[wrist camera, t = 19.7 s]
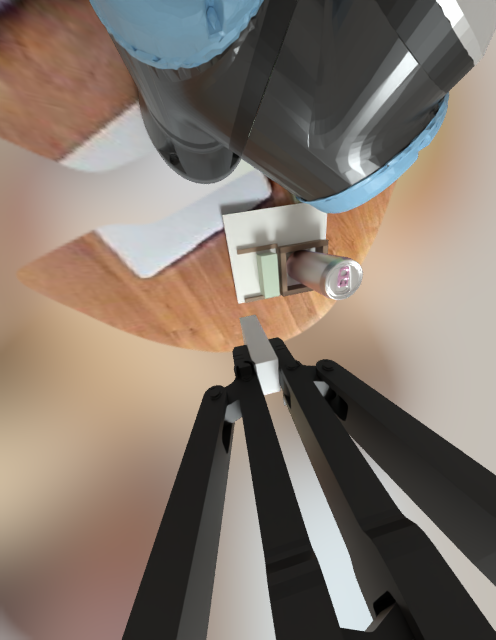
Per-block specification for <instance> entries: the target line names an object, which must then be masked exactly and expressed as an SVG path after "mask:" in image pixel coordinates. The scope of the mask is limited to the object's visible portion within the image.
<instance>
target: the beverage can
mask: <svg viewBox="0 0 496 640" xmlns="http://www.w3.org/2000/svg"><path fill="white" fill-rule="evenodd" d="M286 268H287V274H288V275H289V276H290V277H291V278H293V279H294V280H296V281H298V282H300V283H302V284H303V285H305V286H307V287H309V288H311V289H313V290H314V291H316V292H318V293H320V294H322V295H324V296H325V297H327V298H330V299H335V300H342V299H346V298H348V297H350V296H351V295H352V294H353V293H354V292H355V291H356V290H357V289H358V288H359V286H360V284H361V281H362V276H363V271H362V268H361V266H360V264H359V263H358V262H356V261H354V260H352V259H351V258H348V257H342V256H336V255H330V254H324V253H318V252H312V251H306V250H299V251H295V252H294V253H292V254H291V255H290V256H289V258H288V260H287V263H286Z"/></svg>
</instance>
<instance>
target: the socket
mask: <svg viewBox="0 0 496 640" xmlns="http://www.w3.org/2000/svg"><path fill="white" fill-rule="evenodd" d="M310 248H315V252H318V253H324V254H328V240H325V239H319V240H313V241H307V242H302V243H296V244H290V245H284V246H278V247H276V248H275V249H276V254H277V261H278V276H279V292H280V294H281V295H282V296H288V295H293V294H298V293H303V292H308V291H313V289H311V288H309V287H307V286H305V285H303V284H302V283H301V284H296V285H291V286H287V268H286V253H288V252H293V251H299V250H305V249H310Z"/></svg>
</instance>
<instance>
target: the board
mask: <svg viewBox="0 0 496 640" xmlns="http://www.w3.org/2000/svg"><path fill="white" fill-rule="evenodd" d="M222 218H223V223H224V229H225V234H226V240H227V245H228V251H229V256H230V262H231V267H232V273H233V278H234V284H235V289H236V295H237V301H238V304H239V303H244V302H245V303H248V302H253V301H258V300H263V299H268V298H265V297H264V296H263V295H262V294H261V292H260V283H259V275H258V266H257V258H256V254H262V253H267V252H273V253H276V249H275V248H276V247H278V246H284V245H290V244H296V243H302V242H307V241H313V240H319V239H325V240H326V223H327V213H324V212H322V211H320V210H318V209H316V208H315V207H313V206H311V205H310V204H307V203H299V204H293V205H286V206H280V207H273V208H266V209H260V210H253V211H247V212H240V213H234V214H227V215H222ZM305 250H306V251H312V252H315V248H310V249H305ZM294 252H295V251H293V252H288V253H286V263H287V260H288V258H289V256H290V255H291V254H292V253H294ZM296 284H301V283H300V282H298V281H296V280H294V279H293V278H291V277H290V276H289V275H288V274H287V286H291V285H296ZM280 296H281V294H280ZM275 297H278V296H275ZM270 298H273V297H270Z"/></svg>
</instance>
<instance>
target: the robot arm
mask: <svg viewBox="0 0 496 640" xmlns="http://www.w3.org/2000/svg"><path fill="white" fill-rule="evenodd" d="M89 1H90V3H91V5H92V7H93V9H94V10H95V12H96V14H97V16H98V17H99V19H100V21H101V22H102V24H104V26H105V27H106V29H107V31H108V33H109V35H110V37H111V39H112V41H113V42H114V44H115V46H116V48H117V50H118V52H119V54H120V56H121V57H122V59H123V61H124V63H125V65H126V67H127V69H128V71H129V72H130V74H131V76H132V78H133V80H134V82H135V84H136V86H137V87H138V94H139V104H140V110H141V114H142V118H143V121H144V124H145V127H146V130H147V132H148V135H149V137H150V139H151V141H152V143H153V145H154V146H155V148H156V149H157V151H158V152H159V154H160V155H161V157H162V158H163V160H165V162H166V163H167V164H168V165H169V166H170V168H172V169H173V170H174V171H175V172H176V173H177V174H179V175H181V176H182V177H183V178H185V179H187V180H189V181H192V182H195V183H201V184H210V183H215V182H218V181H221V180H223V179H224V178H226V177H227V176H228V175H230V174H231V173H232V172H233V171H234V169H235V168H236V167H237V165H238V164H239V162H240V160H241V159H243V160H244V161H246V162H247V163H249V164H250V165H252V166H253V167H254V168H256V169H257V170H259V171H260V172H262V173H263V174H265V175H266V176H268V177H269V178H270V179H272V180H273V181H275V182H276V183H278V184H279V185H281V186H282V187H284V188H285V189H286V190H288V191H289V192H291V193H292V194H294V195H295V196H296V198H297V199H298V200H299V201H301V202H303V203H307V204H310V205H311V206H313V207H315V208H316V209H318V210H320V211H322V212H324V213H341V212H345V211H348V210H351V209H353V208H356V207H358V206H360V205H362V204H363V203H365V202H367V201H368V200H370V199H372V198H373V197H375V196H376V195H378V194H379V193H380V192H382V191H383V190H384V189H386V188H387V187H388V186H390V185H391V184H392V183H393V182H394V181H395V180H397V179H398V178H399V177H400V176H401V175H402V174H403V173H404V172H405V171H406V170H407V169H408V168H409V167H410V166H411V165H412V164H413V163H414V162H415V161H416V160H417V158H418V151H419V150H421V149H423V148H424V147H426V146H427V145H429V144H430V142H431V141H432V139H433V138H434V136H435V135H436V134H437V132H438V130H439V128H440V127H441V125H442V123H443V120H444V118H445V115H446V112H447V107H448V99H449V91H450V89H452V87H454V86H455V85H456V84H457V83H458V82H459V81H460V80H461V79H462V78H463V77H464V76H465V74H467V73H468V72H469V71H470V70H471V69H472V68H473V67H474V66H475V65H476V64H477V63H478V62H479V61H480V60H481V59H482V58H483V56H484V54H485V51H486V49H487V47H488V45H489V42H490V40H491V38H492V36H493V34H494V31H495V29H496V0H89ZM290 20H291V21H290ZM289 23H290V24H289ZM286 31H287V32H286ZM285 34H286V35H285ZM282 42H283V43H282ZM281 45H282V46H281ZM280 48H281V49H280ZM278 53H279V54H278ZM277 56H278V57H277ZM276 59H277V60H276ZM274 64H275V65H274ZM273 67H274V68H273ZM272 70H273V71H272ZM270 75H271V76H270ZM269 78H270V79H269ZM268 81H269V82H268ZM267 84H268V85H267ZM266 86H267V87H266ZM265 89H266V90H265ZM264 92H265V93H264ZM263 95H264V96H263ZM262 97H263V98H262ZM261 100H262V101H261ZM260 103H261V104H260ZM259 106H260V107H259ZM258 108H259V110H258ZM257 111H258V112H257ZM256 114H257V115H256ZM255 117H256V118H255ZM254 120H255V121H254ZM253 122H254V123H253ZM252 125H253V126H252ZM251 128H252V129H251ZM250 131H251V132H250ZM249 133H250V135H249ZM248 136H249V137H248ZM240 323H241V328H242V334H243V339H244V344H245V345H243V346H238V347H234V349H233V359H234V365H235V366H234V372H235V376H236V378H235V380H234V382H232V383H231V384H230V385H228V386H226V387H223V386H220V385H216V386H213V387H211V388H209V389H208V390H207V391H206V392H205V394H204V396H203V399H202V402H201V405H200V408H199V411H198V414H197V417H196V420H195V423H194V426H193V429H192V432H191V435H190V438H189V441H188V444H187V447H186V450H185V453H184V456H183V459H182V462H181V465H180V468H179V471H178V474H177V476H176V480H175V482H174V486H173V488H172V491H171V494H170V498H169V501H168V503H167V506H166V509H165V513H164V515H163V518H162V521H161V524H160V527H159V530H158V533H157V536H156V539H155V542H154V545H153V548H152V551H151V554H150V557H149V560H148V563H147V566H146V569H145V572H144V575H143V578H142V581H141V584H140V587H139V590H138V593H137V596H136V599H135V602H134V605H133V608H132V611H131V613H130V617H129V619H128V623H127V625H126V629H125V632H124V635H123V637H122V640H206V636H207V629H208V622H209V614H210V607H211V599H212V591H213V584H214V576H215V569H216V561H217V553H218V546H219V538H220V530H221V523H222V516H223V507H224V500H225V492H226V485H227V478H228V470H229V461H230V455H231V447H232V439H233V432H234V424H235V421H236V420H238V419H240V418H241V417H242V418H243V425H244V431H245V437H246V444H247V450H248V456H249V462H250V469H251V474H252V481H253V488H254V494H255V500H256V506H257V513H258V519H259V525H260V532H261V538H262V544H263V551H264V557H265V564H266V574H267V582H268V590H269V597H270V603H271V610H272V616H273V623H274V628H275V635H276V640H496V631H495V630H494V629H493V628H492V626H491V625H490V624H489V622H488V621H487V619H486V618H485V616H484V615H483V614H482V612H481V611H480V609H479V608H478V606H477V605H476V604H475V602H474V601H473V599H472V598H471V597H470V595H469V594H468V592H467V591H466V590H465V588H464V587H463V585H462V584H461V582H460V581H459V580H458V578H457V577H456V576H455V574H454V572H453V571H452V570H451V568H450V567H449V565H448V564H447V563H446V561H445V560H444V559H443V557H442V555H441V554H440V553H439V551H438V550H437V549H436V547H435V546H434V544H433V543H432V542H431V540H430V539H429V538H428V537H427V535H426V534H425V533H424V531H423V530H422V529H421V528H420V527H419V526H418V525H417V524H415V523H414V522H412V521H411V520H409V519H408V518H406V517H405V516H404V515H403V514H402V513H401V511H400V510H399V509H398V507H397V506H396V504H395V503H394V501H393V500H392V498H391V497H390V496H389V494H388V492H387V491H386V490H385V488H384V486H383V485H382V483H381V482H380V481H379V479H378V478H377V476H376V474H375V473H374V472H373V470H372V469H371V467H370V465H369V464H368V463H367V461H366V460H365V458H364V457H363V455H362V454H361V452H360V451H359V449H358V448H357V446H356V445H355V443H354V442H353V440H352V439H351V437H352V438H353V439H354V440H355V441H356V442H357V443H358V444H359V445H360V446H361V447H362V448H363V449H364V450H365V451H366V452H367V454H368V455H370V457H371V458H372V459H373V460H374V461H375V462H376V463H377V464H378V465H379V466H380V467H381V468H382V469H383V470H384V471H385V472H386V473H387V474H388V475H389V476H390V478H391V479H393V481H394V482H395V483H396V484H397V485H398V486H399V487H400V488H401V489H402V490H403V491H404V492H405V493H406V494H407V495H408V496H409V497H410V498H411V499H412V501H413V502H414V503H415V504H416V505H418V507H419V508H420V509H421V510H422V511H423V512H424V513H425V514H426V515H427V516H428V517H429V518H430V519H431V520H432V521H433V522H434V523H435V525H437V527H438V528H439V529H440V530H441V531H442V532H443V533H444V534H445V535H446V536H447V537H448V538H449V539H450V540H451V541H452V542H453V543H454V544H455V545H456V546H457V548H458V549H460V551H461V552H462V553H463V554H464V555H465V556H466V557H467V558H468V559H469V560H470V561H471V562H472V563H473V564H474V565H475V566H476V567H477V568H478V569H479V570H480V571H481V572H482V573H483V574H484V575H485V576H486V577H487V578H488V579H489V580H490V581H491V582H492V583H493V584H494V585H495V586H496V475H494V474H493V473H492V472H490V471H489V470H488V469H486V468H485V467H483V466H482V465H480V464H479V463H477V462H476V461H475V460H473V459H472V458H471V457H469V456H468V455H466V454H465V453H463V452H462V451H461V450H459V449H458V448H456V447H455V446H453V445H452V444H451V443H449V442H448V441H446V440H445V439H444V438H442V437H441V436H439V435H438V434H437V433H435V432H434V431H432V430H431V429H429V428H428V427H427V426H425V425H424V424H422V423H421V422H420V421H418V420H417V419H415V418H414V417H412V416H411V415H410V414H408V413H407V412H405V411H404V410H402V409H401V408H400V407H398V406H397V405H395V404H394V403H393V402H391V401H390V400H388V399H387V398H385V397H384V396H383V395H381V394H380V393H378V392H377V391H376V390H374V389H373V388H371V387H370V386H368V385H367V384H366V383H364V382H363V381H361V380H360V379H359V378H357V377H356V376H354V375H353V374H352V373H350V372H349V371H347V370H346V369H344V368H343V367H342V366H340V365H338V364H337V363H336V362H334V361H332V360H328V359H323V360H320V361H318V362H317V363H316V366H306V365H302V364H301V363H300V362H299V361H297V360H295V359H294V358H293V356H292V355H291V353H290V352H289V350H288V349H287V347H286V345H285V344H284V342H283V341H282V340H281V339H279V338H278V337H277V338H272V339H268V338H267V336H266V334H265V332H264V330H263V329H262V327H261V325H260V323H259V321H258V319H257V317H256V315H252V316H247V317H242V318H240ZM280 386H281V387H280ZM281 388H282V390H283V400H284V405H287V407H288V409H289V412H290V414H291V416H292V419H293V421H294V424H295V426H296V428H297V431H298V433H299V435H300V437H301V440H302V443H303V445H304V447H305V450H306V452H307V454H308V457H309V459H310V461H311V464H312V466H313V468H314V471H315V473H316V476H317V478H318V480H319V483H320V485H321V488H322V490H323V492H324V495H325V497H326V499H327V502H328V504H329V507H330V509H331V511H332V514H333V516H334V518H335V520H336V522H337V525H338V528H339V530H340V533H341V535H342V537H343V540H344V542H345V544H346V547H347V549H348V552H349V555H350V558H351V561H352V565H353V569H354V573H355V576H356V579H357V581H358V584H359V587H360V589H361V592H362V594H363V597H364V599H365V601H366V604H367V606H368V609H369V611H370V613H371V616H372V618H373V622H372V623H371V624H370V625H369V627H368V628H367V629H366V630H365V631H358V630H351V629H345V628H340V626H339V623H338V620H337V617H336V614H335V611H334V607H333V604H332V601H331V598H330V595H329V592H328V589H327V586H326V583H325V580H324V577H323V574H322V571H321V568H320V565H319V562H318V560H317V557H316V555H315V553H314V551H313V549H312V546H311V543H310V540H309V537H308V534H307V531H306V528H305V524H304V521H303V518H302V515H301V512H300V508H299V506H298V502H297V499H296V496H295V493H294V489H293V486H292V483H291V480H290V477H289V474H288V470H287V467H286V464H285V461H284V458H283V454H282V451H281V448H280V445H279V442H278V438H277V435H276V432H275V429H274V426H273V423H272V419H271V416H270V413H269V410H268V407H267V403H266V401H265V397H264V395H266V394H270V393H274V392H278V391H281ZM349 435H350V436H351V437H350V436H349Z"/></svg>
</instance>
